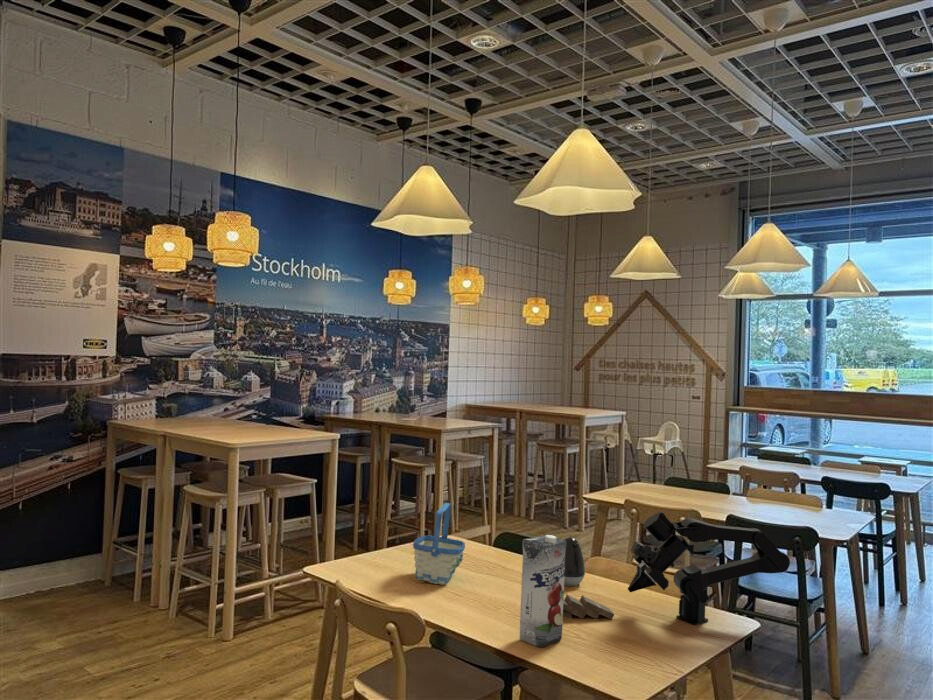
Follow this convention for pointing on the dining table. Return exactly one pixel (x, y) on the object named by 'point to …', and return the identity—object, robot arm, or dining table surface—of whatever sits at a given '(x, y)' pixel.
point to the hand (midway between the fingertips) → (628, 590)
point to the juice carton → (542, 590)
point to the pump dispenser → (573, 563)
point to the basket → (438, 552)
